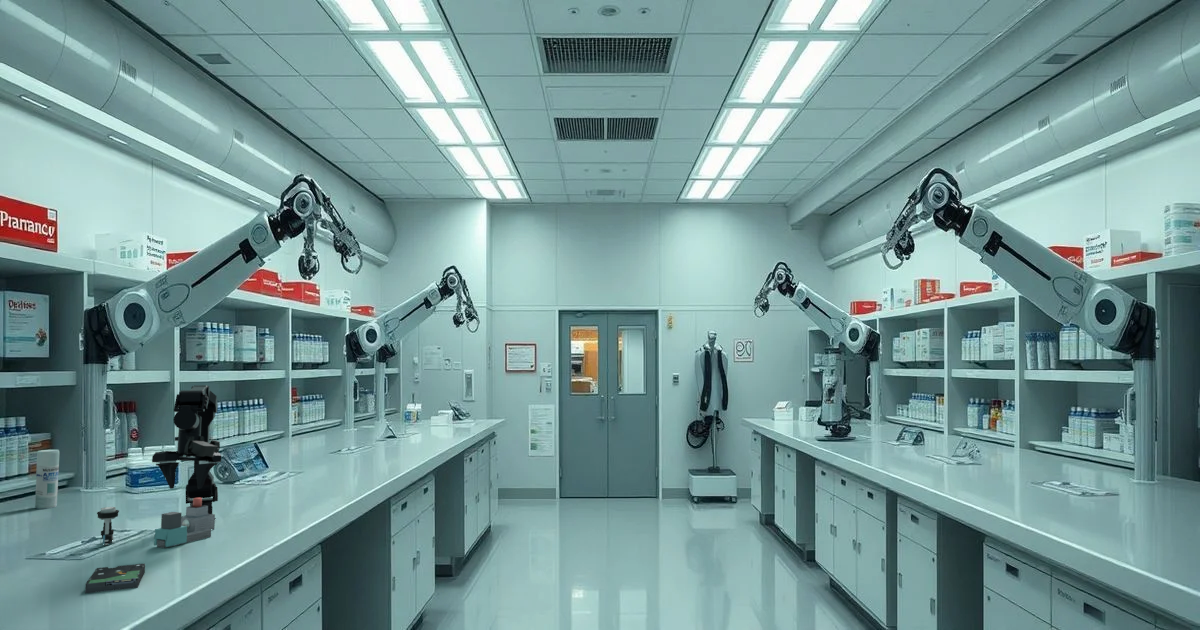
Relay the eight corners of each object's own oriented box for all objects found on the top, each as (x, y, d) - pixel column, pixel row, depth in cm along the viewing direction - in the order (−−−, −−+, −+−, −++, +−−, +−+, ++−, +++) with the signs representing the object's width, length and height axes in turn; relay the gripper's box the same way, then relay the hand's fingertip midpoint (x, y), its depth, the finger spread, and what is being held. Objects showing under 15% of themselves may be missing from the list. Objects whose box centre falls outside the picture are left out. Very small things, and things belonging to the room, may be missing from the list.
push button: (116, 545, 213) (118, 509, 214) (94, 547, 211) (95, 511, 211) (118, 540, 219) (120, 505, 220) (96, 542, 217) (98, 507, 217)
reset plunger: (191, 506, 232) (191, 498, 233) (197, 505, 235) (198, 497, 235) (196, 507, 231) (196, 499, 232) (203, 506, 234) (203, 497, 234)
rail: (164, 548, 210) (164, 540, 210) (156, 547, 211) (157, 539, 211) (210, 536, 224) (211, 530, 224) (203, 536, 225) (203, 529, 225)
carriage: (167, 546, 210) (168, 516, 210) (154, 545, 212) (155, 514, 212) (186, 542, 215) (187, 512, 216) (173, 540, 217) (174, 510, 218)
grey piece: (177, 532, 230) (178, 507, 231) (198, 527, 237) (199, 503, 238) (193, 534, 228) (194, 509, 228) (214, 529, 234) (215, 505, 235)
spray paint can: (50, 504, 275) (52, 449, 276) (61, 506, 272) (63, 450, 273) (30, 507, 269) (33, 451, 270) (41, 509, 266) (44, 451, 268)
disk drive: (95, 579, 182) (84, 596, 169) (95, 567, 182) (85, 583, 169) (145, 574, 187) (138, 589, 173) (145, 562, 187) (139, 577, 174)
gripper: (181, 428, 209) (178, 486, 205) (236, 432, 225) (234, 486, 222) (152, 432, 212) (148, 489, 209) (208, 435, 229) (205, 488, 226)
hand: (186, 488), depth 216 cm, fingers open, 9 cm apart
